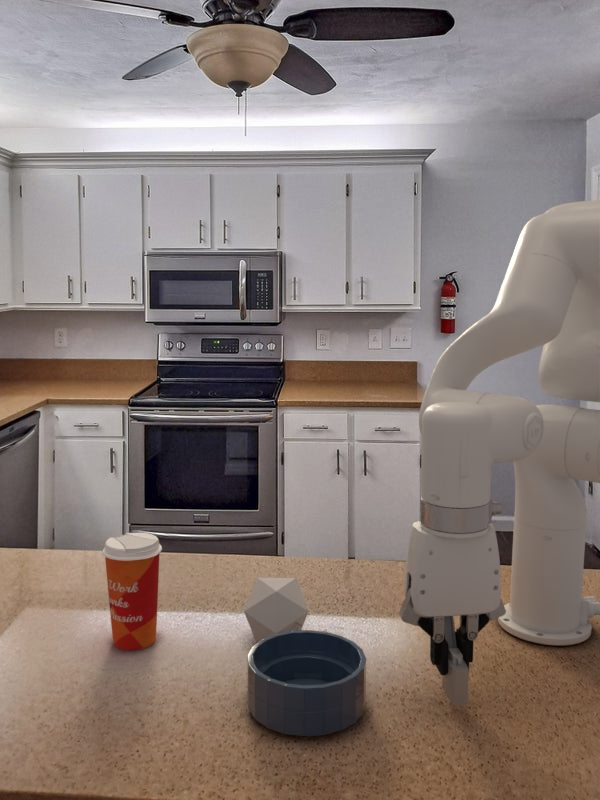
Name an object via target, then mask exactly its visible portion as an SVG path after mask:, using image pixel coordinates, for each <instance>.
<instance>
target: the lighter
mask: <svg viewBox="0 0 600 800" xmlns="http://www.w3.org/2000/svg"><path fill="white" fill-rule="evenodd" d="M455 631H456V629H455V619H454V616H444V635H445V639H446V641H447V642H448V674H446V675H441V676H442V677H441V679H442V680H441V687H442V689H443V691H444V692H445V694H446V696H447V698H448V700H449V702H450V703H451V705H452V706H453V707H459V706H460V707H461V706H467V705H469V703H468V702H469V679H470V677H469V676H470V667H469V668H468V666H467V665H466V663H465V662H464V660H463V655H462V653H461V652H460V650H459V649H458V648H457V645H456V636H455Z"/></svg>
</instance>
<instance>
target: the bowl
mask: <svg viewBox="0 0 600 800" xmlns="http://www.w3.org/2000/svg"><path fill="white" fill-rule="evenodd" d="M366 689H367V657H366V655H365V652H364V650H363V649H362V647H361V646H359V645H358V644H357V643H356V642H355V641H353V640H351V639H349V638H347V637H344V636H342V635H340V634H336V633H332V632H328V631H322V630H312V629H301V630H298V631H288V632H283V633H278V634H274V635H272V636H269V637H267V638H264V639H262V640H261V641H259V642H258V643H255V644H254V645H253V646H252V647H251V649H250V650H249V652H248V653H247V707H248V711H249V712H250V713H251V715H252V716H253V718H254V719H255V720H256V721H257V722H258V723H260V724H261V725H263V726H264V727H266V728H267V729H270V730H272V731H275V732H277V733H281V734H285V735H292V736H298V737H299V736H300V737H316V736H325V735H329V734H332V733H337V732H340V731H343V730H345V729H346V728H348V727H350V726H352V725H354V724H355V723H356V722H357V721H358V720H359V719H360V718H361V717H362V715H363V714H364V712H365V707H366V691H367V690H366Z"/></svg>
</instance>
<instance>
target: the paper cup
mask: <svg viewBox="0 0 600 800" xmlns="http://www.w3.org/2000/svg"><path fill="white" fill-rule="evenodd" d="M104 544H105V545H104V547H103V548H102V552H101V553H102V555H103V556H104V560H105V561H104V562H105V570H106V571H105V572H106V581H107V583H106V584H107V594H108V605H109V615H110V624H111V634H112V635H111V636H112V642H113V645H114V647H115V648H117V649H120V650H122V651H139V650H143V649H147V648H148V647H150V646H152V645H153V644H154V643H155V642H156V637H157V626H158V625H157V623H158V601H159V575H160V553H162V550H163V547H162V545H161V544H160V540H159V538H158V537H157V536H156V535H155V534H151V533H148V532H126V533H125V534H123V533H122V534H119V535H115V536H114V537H111V536H110V537H109V538H108V539H107V540H106V541H105V543H104Z"/></svg>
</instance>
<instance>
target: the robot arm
mask: <svg viewBox="0 0 600 800" xmlns="http://www.w3.org/2000/svg"><path fill="white" fill-rule="evenodd" d="M514 247H515V248H514V250H513V252H512V255H511V258H510V261H509V264H508V267H507V270H506V272H505V275H504V277H503V279H502V280H503V281H502V283H501V285H500V289H499V291H498V293H497V297H496V299H495V303H494V305H493V307H492V309H491V310H490V312H488V313H487V314H486V315H484V316H483V317H481V318H480V319H479V320H477V321H476V322H475V323H473V324H472V325H471V326H469V328H467V329H466V330H464V332H462V333H461V335H460V336H458V337H457V338H456V339H454V341H453V342H452V343H451V344H450V345H449V346H448V347H447V348H446V349H445V350H444V352H442V354H441V355H440V357H439V358H438V360H437V362H436V363H435V366H434V368H433V370H432V373H431V376H430V378H429V380H428V384H427V386H426V389H425V392H424V394H423V397H422V401H421V405H420V408H419V414H418V428H419V432H420V435H421V441H420V443H421V447H420V448H421V449H420V450H421V451H420V462H421V463H420V507H419V509H420V514H419V515H420V516H419V520H420V521H419V520H418V521H417V520H416V521H413V523H412V526H411V530H410V534H409V540H408V546H407V552H406V561H405V562H406V563H405V572H404V588H403V589H404V590H403V591H404V600H403V601H402V605H401V607H400V610H399V612H398V615H399V618H400V619H401V621H402V622H404V623H406V624H409V625H412V626H414V627H419V628H420V629H421V630H422V631H424V633H426V634H427V635H428V636H429V637H430V639H429V640H430V643H429V644H430V645H429V658H430V663H431V664H432V666H435V667H436V669H437V671H438V672H439V674H440V676H442V675H446V674H448V642H447V641H446V639H445V635H444V616H453V617H458V616H459V627H458V628H456V629H455V636H456V645H457V648H458V649H459V650H460V652H461V653H462V655H463V660H464V662H465V663H466V665H467V666H468V668H469V669H470V663H473V661H474V641H476V640H477V639H478V637H479V633H480V632H481V631H482V630H483V629H484V628H485V627H486V626H487V625H488V624H489V622H490V621H491V622H492V621H495V620H497V622H498V624H499V625H500V627H501V628H502V629H503V630H504V631H506V632H507V633H509V634H510V635H512V636H514V637H516V638H518V639H521V640H524V641H527V642H530V643H535V644H539V645H545V646H554V647H555V646H558V647H559V646H562V647H563V646H573V645H576V644H580V643H583V642H585V641H587V640H588V639H589V638H590V637H591V635H592V622H591V621H590V620H589V619H592V618H593V617H595V616H600V601H599V600H598V601H597V599H596V596H594V595H589V596H587V595H586V596H583V580H584V567H585V551H586V535H587V522H588V508H587V504H586V500H585V497H584V496H583V493H582V492H581V489H580V488H579V486H578V484H577V483H576V481H575V480H580V481H585V482H590V483H595V484H596V483H597V484H600V409H595V408H585V407H580V406H579V407H578V406H570V405H562V404H546V403H545V404H535V403H533V402H532V401H531V400H530V399H529V400H528V399H527V398H524V397H522V396H517V395H509V394H500V393H493V392H492V393H491V392H486V391H485V392H484V391H477V390H476V391H475V390H467V389H468V388H469V386H470V385H471V383H472V382H473V381H474V380H475V378H476V377H477V376H479V374H481V373H482V372H483V371H485V370H486V369H488V368H490V367H491V366H493V365H495V364H497V363H500V362H501V361H503V360H505V359H506V360H507V359H509V358H511V357H514V356H517V355H520V354H523V353H526V352H528V351H531V350H534V349H536V348H539V347H542V346H543V347H542V350H541V355H540V360H539V365H538V384H539V387H540V388H541V389H542V390H543V392H545V393H547V394H548V395H550V396H553V397H556V398H560V399H565V400H566V399H567V400H573V401H581V402H582V401H583V402H592V403H600V199H592V200H582V201H581V200H580V201H574V202H573V201H572V202H566V203H563V204H562V203H561V204H558V205H555V206H553V207H550V208H549V209H548V210H546V211H545V212H544V213H541V214H539V215H536V216H533V217H532V218H531V219H530V220H528V221H527V222H526V224H525V225H524V226H523V227H522V230H521V232H520V234H519V236H518V239H517V242H516V245H515V246H514ZM501 463H513V469H514V482H515V483H514V488H515V489H514V490H515V491H514V514H513V515H514V516H513V531H512V532H513V533H512V552H511V571H510V572H511V573H510V589H509V592H510V593H509V602H508V603H506V604H504V602H503V600H502V575H501V573H502V572H501V561H500V551H499V544H498V538H497V532H496V528H495V525H494V524H493V523H492V518H493V516H495V515H501V514H502V513H503V506H502V503H501V501H493V500H492V499H491V493H492V492H491V490H492V489H491V488H492V483H491V482H492V466H493V465H494V464H501Z"/></svg>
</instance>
